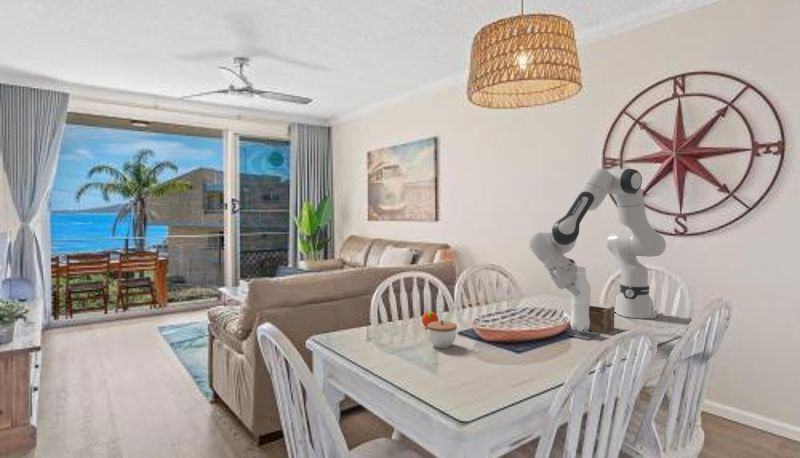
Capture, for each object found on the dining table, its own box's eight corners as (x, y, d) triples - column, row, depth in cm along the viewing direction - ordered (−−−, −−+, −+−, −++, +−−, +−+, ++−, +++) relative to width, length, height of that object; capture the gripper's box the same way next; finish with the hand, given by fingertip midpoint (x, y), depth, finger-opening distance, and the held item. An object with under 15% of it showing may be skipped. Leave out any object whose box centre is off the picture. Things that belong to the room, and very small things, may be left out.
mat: (572, 329, 187) (572, 328, 187) (599, 334, 179) (599, 333, 179) (560, 334, 179) (560, 333, 179) (588, 340, 172) (588, 339, 172)
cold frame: (585, 323, 197) (585, 302, 197) (614, 328, 189) (614, 306, 188) (573, 328, 189) (573, 307, 188) (602, 333, 180) (603, 311, 180)
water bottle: (592, 332, 176) (594, 269, 174) (574, 332, 176) (575, 268, 175) (585, 327, 183) (587, 266, 182) (567, 327, 183) (569, 266, 182)
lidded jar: (455, 351, 159) (455, 324, 159) (425, 349, 161) (425, 323, 161) (457, 342, 170) (457, 317, 169) (429, 340, 172) (429, 316, 172)
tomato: (437, 331, 185) (437, 314, 185) (420, 330, 186) (420, 313, 186) (438, 326, 193) (438, 309, 193) (422, 325, 194) (422, 309, 194)
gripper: (552, 263, 176) (576, 292, 169) (575, 259, 190) (598, 285, 184) (541, 274, 179) (565, 302, 173) (564, 269, 193) (587, 294, 187)
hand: (582, 293), depth 178 cm, fingers closed on water bottle, 7 cm apart
